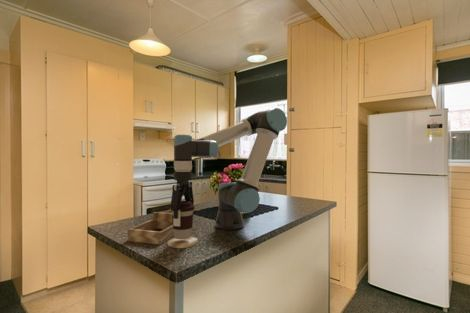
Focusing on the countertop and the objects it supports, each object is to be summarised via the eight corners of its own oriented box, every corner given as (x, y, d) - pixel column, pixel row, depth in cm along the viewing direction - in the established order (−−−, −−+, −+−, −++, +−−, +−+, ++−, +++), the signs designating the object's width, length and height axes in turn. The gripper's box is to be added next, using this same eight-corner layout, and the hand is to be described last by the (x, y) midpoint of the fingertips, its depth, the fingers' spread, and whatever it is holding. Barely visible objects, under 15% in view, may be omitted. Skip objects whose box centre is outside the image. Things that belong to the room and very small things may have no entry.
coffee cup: (198, 238, 109) (198, 202, 109) (175, 242, 104) (176, 205, 103) (188, 232, 117) (188, 199, 117) (167, 235, 112) (167, 201, 112)
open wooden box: (183, 230, 129) (183, 214, 128) (161, 244, 108) (161, 225, 108) (155, 227, 133) (154, 212, 133) (127, 240, 113) (127, 222, 113)
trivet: (202, 239, 115) (202, 237, 115) (190, 249, 103) (190, 248, 103) (176, 236, 119) (176, 235, 119) (161, 246, 106) (161, 244, 106)
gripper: (186, 169, 122) (186, 215, 122) (160, 172, 100) (160, 229, 101) (201, 169, 120) (201, 216, 120) (178, 173, 98) (178, 230, 99)
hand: (182, 222), depth 110 cm, fingers closed on coffee cup, 10 cm apart
